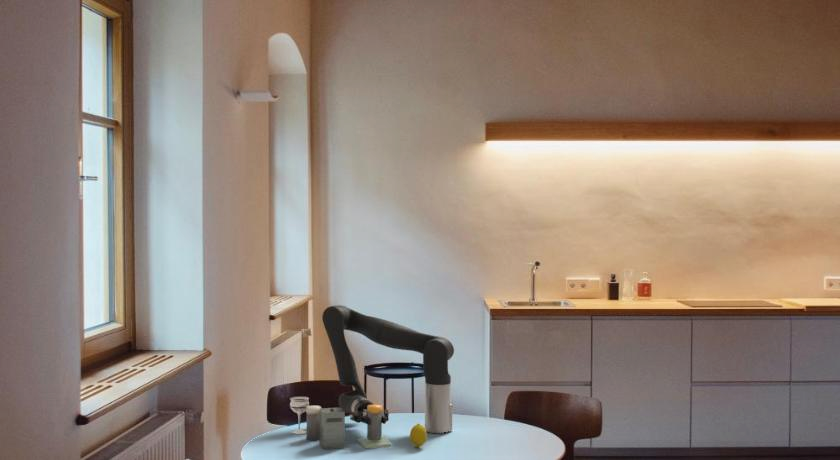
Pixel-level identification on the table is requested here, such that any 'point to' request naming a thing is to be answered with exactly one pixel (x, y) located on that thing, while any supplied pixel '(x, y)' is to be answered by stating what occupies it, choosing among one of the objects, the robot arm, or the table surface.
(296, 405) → the wineglass
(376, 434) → the cylinder
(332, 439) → the unit
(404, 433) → the table surface
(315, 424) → the cylinder
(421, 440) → the lemon
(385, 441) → the pad
